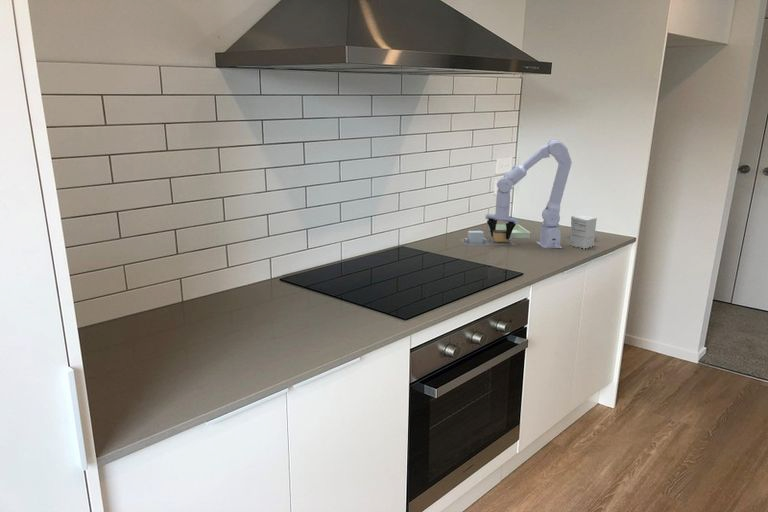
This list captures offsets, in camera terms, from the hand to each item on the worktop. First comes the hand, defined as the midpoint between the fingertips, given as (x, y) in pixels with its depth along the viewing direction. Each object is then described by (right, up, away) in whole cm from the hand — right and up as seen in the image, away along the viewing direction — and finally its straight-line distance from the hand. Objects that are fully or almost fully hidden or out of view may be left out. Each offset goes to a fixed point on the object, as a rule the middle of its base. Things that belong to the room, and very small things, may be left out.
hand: (500, 237), depth 263 cm
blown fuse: (0, -1, 0) cm, 1 cm away
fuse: (-11, -2, -1) cm, 11 cm away
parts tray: (+7, +2, +15) cm, 17 cm away
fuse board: (-6, -2, 0) cm, 6 cm away
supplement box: (+34, -4, -2) cm, 34 cm away
